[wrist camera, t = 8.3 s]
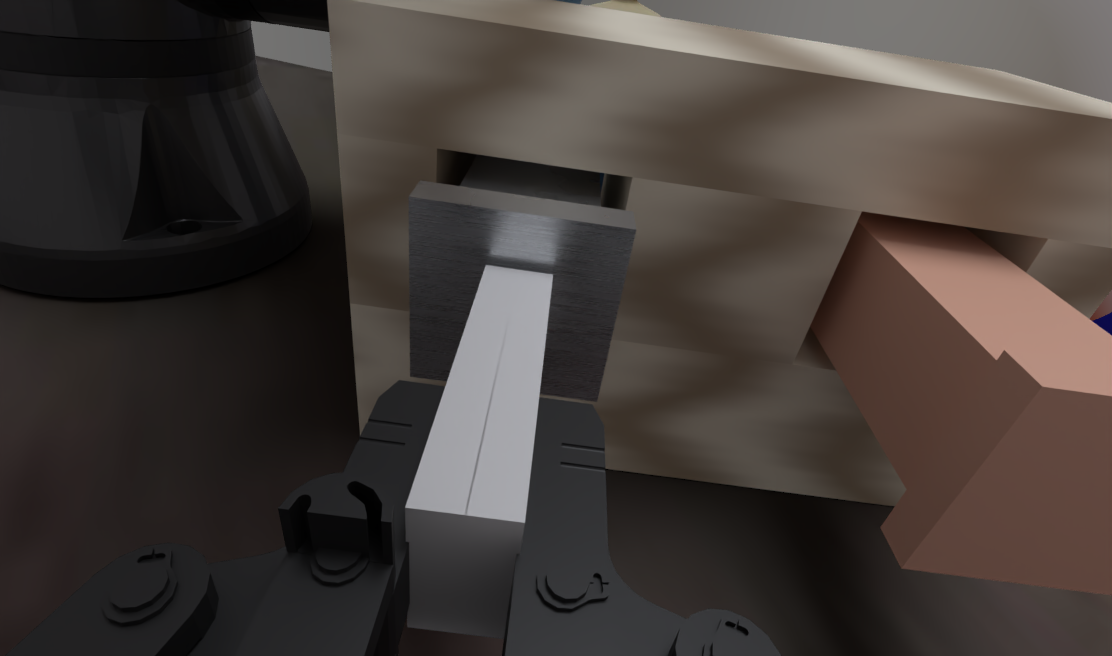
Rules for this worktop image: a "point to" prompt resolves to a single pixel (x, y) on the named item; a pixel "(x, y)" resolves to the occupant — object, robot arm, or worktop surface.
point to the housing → (708, 204)
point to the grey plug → (519, 263)
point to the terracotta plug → (976, 405)
